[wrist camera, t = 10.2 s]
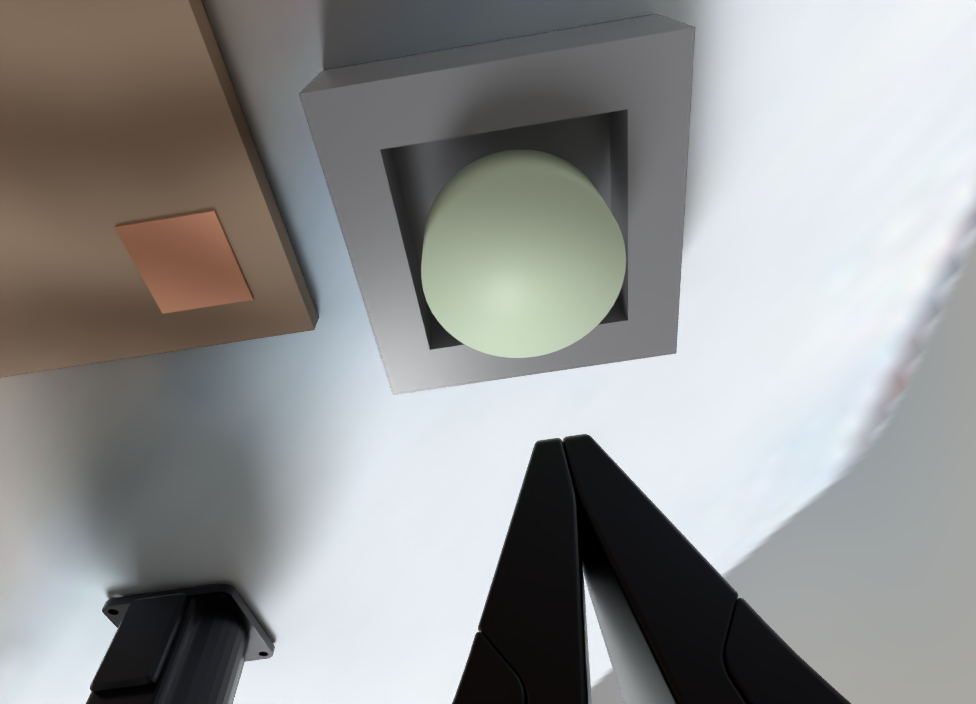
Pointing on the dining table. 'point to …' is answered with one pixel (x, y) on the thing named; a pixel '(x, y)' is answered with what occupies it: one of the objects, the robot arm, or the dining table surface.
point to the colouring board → (131, 191)
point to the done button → (521, 255)
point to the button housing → (500, 127)
